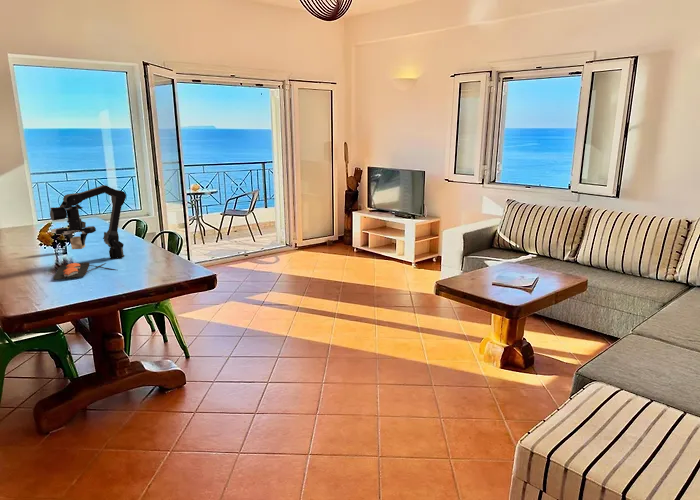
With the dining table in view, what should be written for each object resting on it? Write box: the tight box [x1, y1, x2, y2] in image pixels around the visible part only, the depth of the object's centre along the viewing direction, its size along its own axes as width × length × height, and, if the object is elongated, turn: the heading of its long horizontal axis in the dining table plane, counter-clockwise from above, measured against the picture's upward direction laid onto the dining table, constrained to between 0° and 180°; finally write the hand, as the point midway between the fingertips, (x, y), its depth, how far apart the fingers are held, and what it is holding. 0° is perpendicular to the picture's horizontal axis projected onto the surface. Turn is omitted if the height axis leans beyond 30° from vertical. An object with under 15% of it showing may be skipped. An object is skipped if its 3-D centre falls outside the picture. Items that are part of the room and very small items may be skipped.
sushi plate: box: [52, 262, 117, 281], centre depth 254 cm, size 29×30×4 cm
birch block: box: [70, 235, 86, 250], centre depth 263 cm, size 5×5×6 cm
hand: (78, 245), depth 263 cm, fingers closed on birch block, 5 cm apart
